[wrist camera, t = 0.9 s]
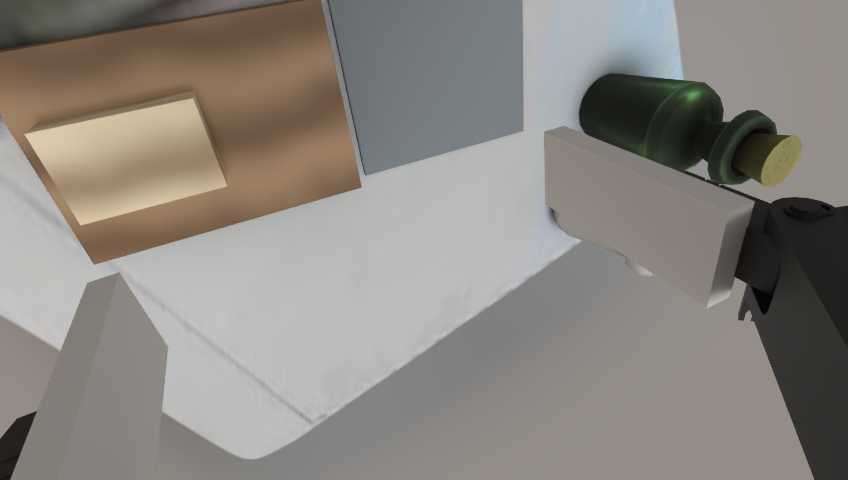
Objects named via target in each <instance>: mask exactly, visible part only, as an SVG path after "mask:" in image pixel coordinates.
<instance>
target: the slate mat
mask: <svg viewBox="0 0 848 480" xmlns="http://www.w3.org/2000/svg"><path fill="white" fill-rule="evenodd" d="M328 4H329V9H330V13H331V18H332V23H333V27H334V32H335V37H336V42H337V46H338V51H339V56H340V61H341V65H342V70H343V75H344V79H345V84H346V89H347V94H348V98H349V103H350V108H351V113H352V117H353V122H354V127H355V131H356V136H357V141H358V146H359V150H360V155H361V160H362V165H363V169H364V174H365V175H369V174H373V173H376V172H380V171H383V170H387V169H390V168H394V167H397V166H401V165H404V164H408V163H412V162H415V161H419V160H422V159H426V158H429V157H433V156H436V155H440V154H443V153H447V152H450V151H454V150H458V149H461V148H465V147H468V146H472V145H475V144H479V143H482V142H486V141H489V140H493V139H497V138H500V137H504V136H507V135H511V134H514V133H518V132H521V131H523V20H522V0H328Z"/></svg>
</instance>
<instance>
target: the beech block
mask: <svg viewBox="0 0 848 480" xmlns="http://www.w3.org/2000/svg"><path fill="white" fill-rule="evenodd" d="M25 136H26V138H27V139H28V141H29V143H30V144H31V146H32V147H33V149H34V151H35V152H36V154H37V156H38V157H39V159H40V160H41V162H42V164H43V165H44V167H45V169H46V170H47V172H48V173H49V175H50V177H51V178H52V180H53V182H54V183H55V185H56V186H57V188H58V190H59V191H60V193H61V195H62V196H63V198H64V199H65V201H66V203H67V204H68V206H69V208H70V209H71V211H72V212H73V214H74V216H75V217H76V219H77V221H78V222H79V224H80V225H84V224H88V223H92V222H96V221H99V220H103V219H107V218H111V217H114V216H118V215H122V214H126V213H129V212H133V211H137V210H141V209H144V208H148V207H152V206H156V205H159V204H163V203H167V202H171V201H174V200H178V199H182V198H186V197H189V196H193V195H197V194H201V193H204V192H208V191H212V190H216V189H219V188H223V187H227V177H226V172H225V170H224V167H223V164H222V162H221V159H220V157H219V154H218V152H217V149H216V146H215V144H214V141H213V139H212V136H211V134H210V131H209V128H208V126H207V123H206V121H205V118H204V116H203V113H202V110H201V108H200V105H199V103H198V100H197V97H196V95H195V92H194V90H193V91H188V92H183V93H178V94H173V95H169V96H164V97H159V98H154V99H149V100H145V101H140V102H135V103H130V104H125V105H121V106H116V107H111V108H106V109H101V110H97V111H92V112H87V113H82V114H77V115H73V116H68V117H63V118H58V119H53V120H49V121H44V122H39V123H37V124H35V125H34V126H33V127H32V128H31V129H30V130H28V131H27V132H26V133H25Z"/></svg>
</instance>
